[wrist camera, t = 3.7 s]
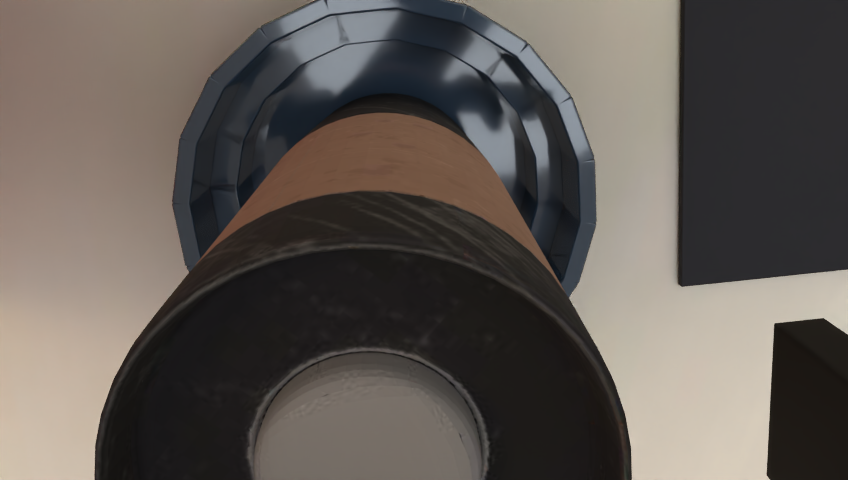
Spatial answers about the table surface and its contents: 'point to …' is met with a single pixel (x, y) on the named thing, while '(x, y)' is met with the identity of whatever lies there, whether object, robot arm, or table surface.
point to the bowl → (389, 73)
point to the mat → (763, 139)
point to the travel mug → (368, 329)
